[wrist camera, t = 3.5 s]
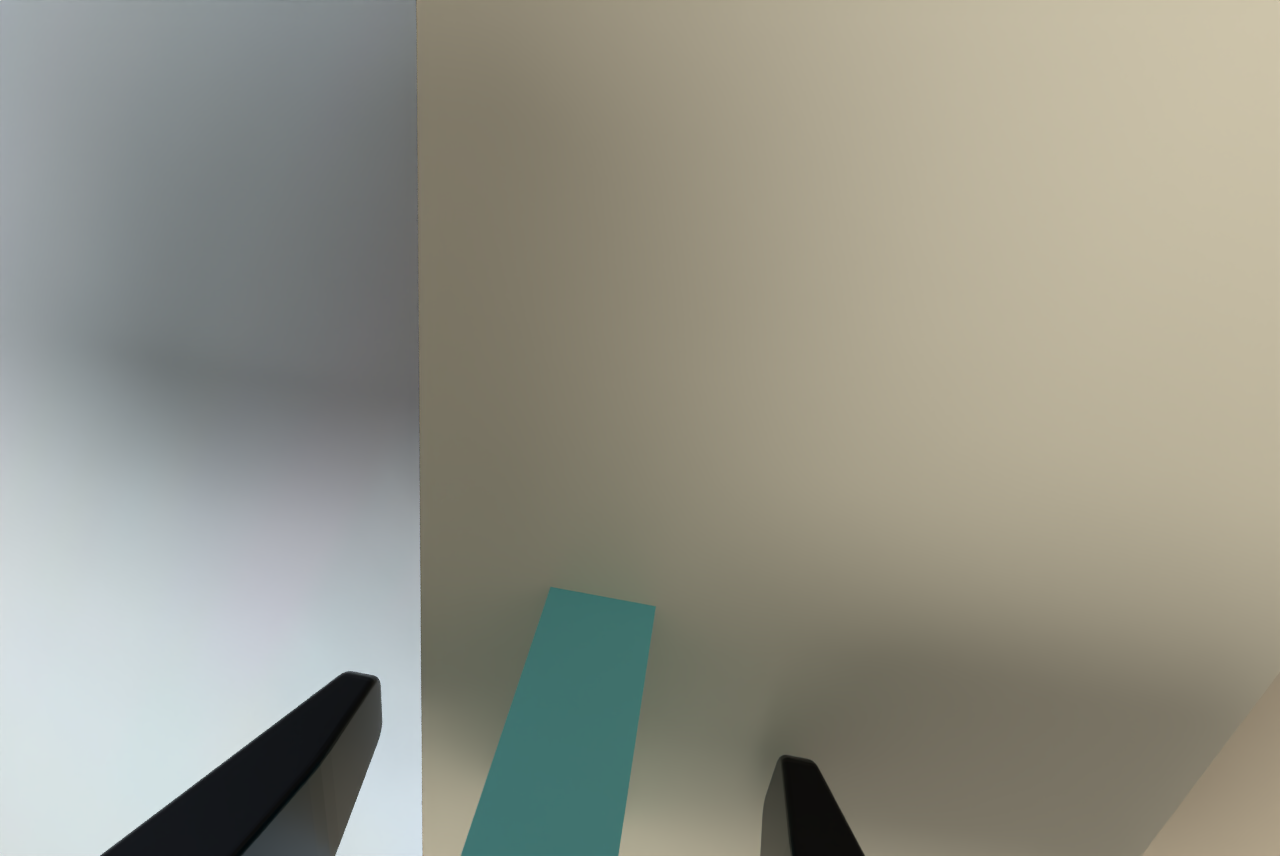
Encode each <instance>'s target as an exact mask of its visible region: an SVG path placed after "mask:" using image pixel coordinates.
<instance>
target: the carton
mask: <svg viewBox="0 0 1280 856" xmlns="http://www.w3.org/2000/svg"><path fill="white" fill-rule="evenodd" d="M1142 856H1280V672H1279V674H1278V675H1277V676H1276V678H1275V679H1274V680H1273V682H1272V683H1271V684H1270V686H1269V687H1268V688H1267V690H1266V691H1265V692H1264V694H1263V695H1262V696H1261V698H1260V699H1259V700H1258V702H1257V703H1256V704H1255V706H1254V707H1253V708H1252V710H1251V711H1250V712H1249V714H1248V715H1247V716H1246V718H1245V719H1244V720H1243V722H1242V723H1241V724H1240V726H1239V727H1238V728H1237V730H1236V731H1235V732H1234V734H1233V735H1232V736H1231V738H1230V739H1229V740H1228V742H1227V743H1226V744H1225V745H1224V747H1223V748H1222V749H1221V751H1220V752H1219V753H1218V755H1217V756H1216V757H1215V759H1214V760H1213V761H1212V763H1211V764H1210V765H1209V767H1208V768H1207V769H1206V771H1205V772H1204V773H1203V775H1202V776H1201V777H1200V779H1199V780H1198V781H1197V783H1196V784H1195V785H1194V787H1193V788H1192V789H1191V791H1190V792H1189V793H1188V795H1187V796H1186V797H1185V799H1184V800H1183V801H1182V803H1181V804H1180V805H1179V807H1178V808H1177V809H1176V811H1175V812H1174V813H1173V815H1172V816H1171V817H1170V819H1169V820H1168V821H1167V823H1166V824H1165V825H1164V826H1163V828H1162V829H1161V830H1160V832H1159V833H1158V834H1157V836H1156V837H1155V838H1154V840H1153V841H1152V842H1151V844H1150V845H1149V846H1148V848H1147V849H1146V850H1145V852H1144V853H1143V854H1142Z"/></svg>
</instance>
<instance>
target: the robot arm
mask: <svg viewBox="0 0 1280 856" xmlns="http://www.w3.org/2000/svg"><path fill="white" fill-rule="evenodd" d="M381 728H382V704H381V685H380V681H379V679H378V678H377V677H376V676H374V675H369V674H363V673H358V672H353V671H348V672H345V673H342V674H341V675H339V676H338V677H336V678H335V679H334V680H332V681H331V682H330V683H328V684H327V685H326V686H324V687H323V688H322V689H320V690H319V691H318V692H316V693H315V694H314V695H312V696H311V697H310V698H309V699H307V700H306V701H305V702H303V703H302V704H301V705H299V706H298V707H297V708H295V709H294V710H293V711H291V712H290V713H289V714H287V715H286V716H285V717H283V718H282V719H281V720H279V721H278V722H277V723H275V724H274V725H273V726H271V727H270V728H269V729H267V730H266V731H265V732H263V733H262V734H261V735H259V736H258V737H257V738H255V739H254V740H253V741H251V742H250V743H249V744H248V745H246V746H245V747H244V748H242V749H241V750H240V751H238V752H237V753H236V754H234V755H233V756H232V757H230V758H229V759H228V760H226V761H225V762H224V763H222V764H221V765H220V766H218V767H217V768H216V769H214V770H213V771H212V772H210V773H209V774H208V775H206V776H205V777H204V778H202V779H201V780H200V781H198V782H197V783H196V784H194V785H193V786H192V787H190V788H189V789H188V790H187V791H185V792H184V793H183V794H181V795H180V796H179V797H177V798H176V799H175V800H173V801H172V802H171V803H169V804H168V805H167V806H165V807H164V808H163V809H161V810H160V811H159V812H157V813H156V814H155V815H153V816H152V817H151V818H149V819H148V820H147V821H145V822H144V823H143V824H141V825H140V826H139V827H137V828H136V829H135V830H133V831H132V832H131V833H130V834H128V835H127V836H126V837H124V838H123V839H122V840H120V841H119V842H118V843H116V844H115V845H114V846H112V847H111V848H110V849H108V850H107V851H106V852H104V853H103V854H102V855H100V856H335V854H336V852H337V849H338V847H339V844H340V842H341V839H342V836H343V834H344V831H345V828H346V826H347V823H348V820H349V818H350V815H351V812H352V810H353V807H354V804H355V802H356V799H357V796H358V794H359V791H360V788H361V786H362V783H363V780H364V778H365V775H366V772H367V770H368V767H369V764H370V762H371V759H372V757H373V754H374V751H375V749H376V746H377V743H378V740H379V737H380V733H381ZM760 856H865V855H864V853H863V851H862V849H861V847H860V845H859V843H858V841H857V839H856V838H855V836H854V834H853V832H852V830H851V828H850V826H849V824H848V822H847V821H846V819H845V817H844V815H843V813H842V811H841V809H840V807H839V805H838V803H837V802H836V800H835V798H834V796H833V794H832V792H831V790H830V788H829V786H828V785H827V783H826V781H825V779H824V777H823V775H822V773H821V771H820V769H819V768H818V766H817V764H816V763H815V762H814V761H812V760H810V759H807V758H802V757H796V756H791V755H782V756H780V757H779V759H778V760H777V763H776V766H775V769H774V772H773V775H772V778H771V781H770V784H769V787H768V790H767V793H766V796H765V800H764V806H763V814H762V831H761V850H760Z"/></svg>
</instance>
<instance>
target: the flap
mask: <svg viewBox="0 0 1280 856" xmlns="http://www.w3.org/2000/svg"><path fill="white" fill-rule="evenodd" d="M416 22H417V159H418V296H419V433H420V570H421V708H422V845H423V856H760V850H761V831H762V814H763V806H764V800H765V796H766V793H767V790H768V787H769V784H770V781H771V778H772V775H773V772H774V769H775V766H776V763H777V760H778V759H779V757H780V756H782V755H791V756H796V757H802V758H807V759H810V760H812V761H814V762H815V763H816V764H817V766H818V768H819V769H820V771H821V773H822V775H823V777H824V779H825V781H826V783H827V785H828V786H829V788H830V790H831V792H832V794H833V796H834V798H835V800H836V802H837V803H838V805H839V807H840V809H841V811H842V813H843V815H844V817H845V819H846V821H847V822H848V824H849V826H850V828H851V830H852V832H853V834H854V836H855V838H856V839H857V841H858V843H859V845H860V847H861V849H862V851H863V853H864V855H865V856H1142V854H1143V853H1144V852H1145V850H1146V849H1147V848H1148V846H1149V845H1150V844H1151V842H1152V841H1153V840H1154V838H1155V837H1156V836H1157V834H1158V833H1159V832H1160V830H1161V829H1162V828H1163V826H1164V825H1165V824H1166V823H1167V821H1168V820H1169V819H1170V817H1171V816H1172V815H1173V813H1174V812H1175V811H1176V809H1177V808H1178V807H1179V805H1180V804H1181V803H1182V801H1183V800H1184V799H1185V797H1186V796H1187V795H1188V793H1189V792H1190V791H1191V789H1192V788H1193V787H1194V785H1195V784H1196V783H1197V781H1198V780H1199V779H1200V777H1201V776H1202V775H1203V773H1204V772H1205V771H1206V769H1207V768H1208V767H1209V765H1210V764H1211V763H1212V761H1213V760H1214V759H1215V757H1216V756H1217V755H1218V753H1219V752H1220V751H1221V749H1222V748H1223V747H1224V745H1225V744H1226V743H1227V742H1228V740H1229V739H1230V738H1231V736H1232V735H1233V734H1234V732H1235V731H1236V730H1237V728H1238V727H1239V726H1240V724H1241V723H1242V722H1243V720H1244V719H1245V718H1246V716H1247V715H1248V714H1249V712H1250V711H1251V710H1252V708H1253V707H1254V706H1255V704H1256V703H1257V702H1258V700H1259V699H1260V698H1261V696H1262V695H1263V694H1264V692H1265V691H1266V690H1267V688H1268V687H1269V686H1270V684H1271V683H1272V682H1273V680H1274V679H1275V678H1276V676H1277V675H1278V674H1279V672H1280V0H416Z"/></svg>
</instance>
